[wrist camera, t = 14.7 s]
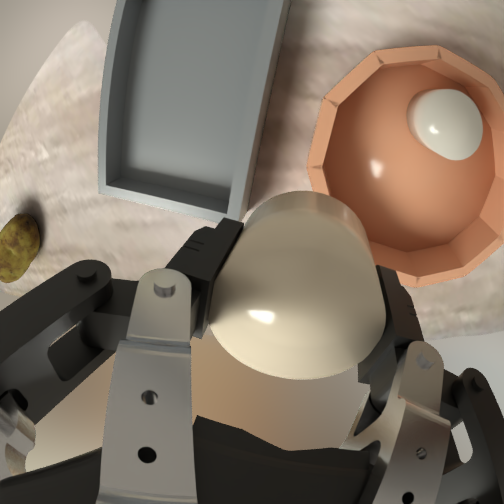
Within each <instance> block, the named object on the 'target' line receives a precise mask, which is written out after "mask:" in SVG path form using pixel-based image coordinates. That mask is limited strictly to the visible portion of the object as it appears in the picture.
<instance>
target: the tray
mask: <svg viewBox="0 0 504 504" xmlns="http://www.w3.org/2000/svg"><path fill="white" fill-rule="evenodd" d="M290 4H291V0H117V3H116V7H115V11H114V15H113V20H112V24H111V29H110V34H109V40H108V45H107V51H106V57H105V64H104V72H103V80H102V89H101V100H100V113H99V131H98V193H99V194H103V195H107V196H112V197H116V198H120V199H124V200H128V201H132V202H136V203H140V204H144V205H148V206H152V207H156V208H160V209H164V210H168V211H172V212H176V213H180V214H184V215H188V216H192V217H196V218H199V219H203V220H207V221H211V222H215V223H220V221H221V220H222V219H223V218H224V217H225V218H229V219H232V220H236V221H239V222H241V221H242V219H243V218H244V216H245V214H246V213H247V209H248V204H249V199H250V194H251V189H252V184H253V179H254V174H255V169H256V164H257V159H258V154H259V149H260V144H261V139H262V134H263V130H264V125H265V120H266V115H267V110H268V106H269V101H270V96H271V91H272V87H273V82H274V77H275V73H276V68H277V63H278V59H279V54H280V49H281V45H282V40H283V36H284V31H285V27H286V22H287V18H288V13H289V9H290Z"/></svg>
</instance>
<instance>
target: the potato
mask: <svg viewBox="0 0 504 504" xmlns="http://www.w3.org/2000/svg"><path fill="white" fill-rule="evenodd" d="M39 244H40V237H39V232H38V227H37V224H36V222H35V220H34V219H33V218H32V217H31V216H30V215H29V214H17V215H15V217H13V218H12V219H11V220H10V221H9V222H8V223H7V224H6V225H5V227H4V228H3V229H2V230H1V232H0V280H1V281H2V282H4V283H10V282H13V281H16V280H18V279H19V278H20V277H21V276H22V275H23V274H24V273H25V272H26V270H27V269H28V267H29V265H30V264H31V262H32V261H33V260H34V258H35V257H36V255H37V252H38V249H39Z"/></svg>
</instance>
